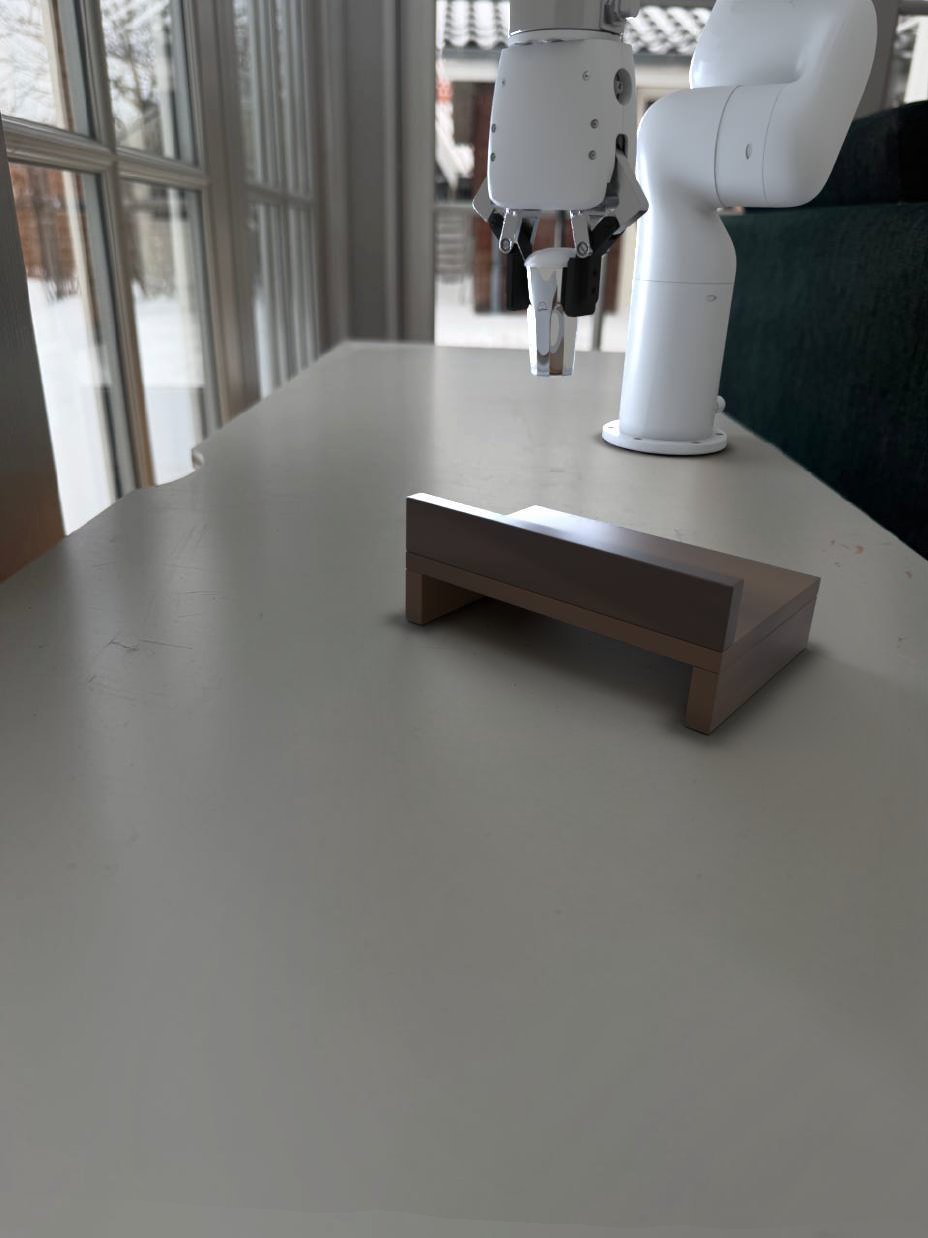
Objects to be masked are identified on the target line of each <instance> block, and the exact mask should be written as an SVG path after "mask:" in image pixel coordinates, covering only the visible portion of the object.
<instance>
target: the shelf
mask: <svg viewBox="0 0 928 1238" xmlns="http://www.w3.org/2000/svg"><path fill="white" fill-rule="evenodd" d="M405 550H406V551H405V609H404V611H405V612H404V613H405V615H404V616H405V617H404V618H405V620H406V621H409V622H411V623H414V624H417V625H419V626H422V625H425V624H427V623H430V622H431V621H433V620H436V619H438V618H440V617H443V616H445V615H447V614H449V613H451V612H454V611H455V610H458V609H460V608H462V607H466V606H467V605H470V604H472V603H474V602H476V601H477V600H481V599H483V598H485V597H489V598H493V599H495V600H498V601H501V602H504V603H507V604H511V605H513V606H516V607H518V608H522V609H525V610H528V611H530V612H533V613H537V614H540V615H542V616H545V617H549V618H551V619H554V620H557V621H561V622H563V623H565V624H570V625H573V626H575V627H578V628H580V629H584V630H587V631H589V632H593V633H595V634H598V635H602V636H605V637H608V638H610V639H613V640H617V641H619V642H623V643H625V644H628V645H632V646H635V647H637V648H640V649H643V650H646V651H649V652H653V653H655V654H658V655H661V656H664V657H667V658H670V659H673V660H676V661H679V662H681V663H684V664H688V665H690V666H693V667H692V673H691V679H690V685H689V692H688V699H687V705H686V710H685V711H686V712H685V717H684V726H685V727H686V728H689V729H692V730H695V731H697V732H699V733H702V734H705V735H710V734H711V733H713V732H714V731H715V730H716V729H717V728H718V727H719V726H720V725H721V724H722V723H723V722H724V721H725V720H726V719H728V718H729V717H730V716H732V714H734V713H735V712H736V711H737V710H738V709H739V708H740V707H742V705H744V703H746V702H747V701H748V700H749V699H750V698H751V697H752V696H754V695H755V693H757V692H758V691H759V690H761V688H762V687H764V686H765V684H767V683H768V682H769V681H770V680H771V679H773V677H775V675H777V674H778V673H779V672H780V671H781V670H783V669H784V668H785V667H786V666H787V665H788V664H789V663H790V662H791V661H792V660H793V659H795V658H796V657H797V656H798V655H799V654H800V653H801V652H802V651H804V650H805V648H807V646H808V642H809V638H810V632H811V628H812V623H813V618H814V614H815V608H816V604H817V599H818V595H819V590H820V586H821V585H820V584H821V582H822V581H821V580H822V577H820V576H816V575H812V574H809V573H805V572H802V571H797V570H794V569H789V568H785V567H781V566H778V565H773V564H769V563H766V562H761V561H757V560H753V559H750V558H747V557H746V558H745V557H742V556H737V555H733V554H731V553H726V552H722V551H718V550H714V549H710V548H706V547H702V546H699V545H695V544H689V543H687V542H684V541H683V542H682V541H678V540H674V539H671V538H667V537H664V536H659V535H655V534H651V533H647V532H644V531H640V530H636V529H631V528H627V527H624V526H619V525H616V524H611V523H608V522H604V521H600V520H596V519H592V518H588V517H584V516H580V515H575V514H572V513H568V512H564V511H561V510H556V509H552V508H549V507H545V506H540V505H537V504H534V505H532V506H529V507H526V508H522V509H520V510H518V511H515V512H512V513H509V514H507V515H505V514H502V513H498V512H494V511H491V510H487V509H483V508H480V507H477V506H472V505H468V504H464V503H460V502H457V501H453V500H450V499H446V498H442V497H439V496H434V495H431V494H427V493H423V492H418V493H415V494H412V495H409V496H406V497H405Z"/></svg>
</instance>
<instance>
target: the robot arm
mask: <svg viewBox="0 0 928 1238" xmlns="http://www.w3.org/2000/svg"><path fill="white" fill-rule="evenodd" d="M640 9H641V0H509V5H508V35H507V37H508V41H507V43H508V44H507V47H506V48H502V49H501V53H500V57H499V63H498V67H497V72H496V78H495V82H494V91H493V97H492V103H491V104H492V106H491V112H490V121H489V134H488V136H489V138H488V149H487V150H488V151H487V173H486V176H485V178H483V181H482V183H481V185H480V187H479V188H478V190H477V192H476V194H475V196H474V197H473V199H472V208H473V209H474V210H475V211H476V213H477V214H478V215H479V216H480V217H481V218H482V219H483V220H484V221H485V222H486V223H488V227H489V229H490V230H491V232H492V233H493V234H494V236H495V238H496V239H497V241H498V242H499V243H498V245H499V250H500V251H501V253H503V254H505V255H506V261H505V288H504V289H505V291H504V292H505V298H506V299H505V308H506V310H507V311H510V312H519V311H524V310H525V311H526V310H528V308H527V295H526V283H525V270H524V261H523V259H522V256H521V254H520V251H519V248H518V246H517V243H516V241H515V238H514V236H513V235H515V237H516V239H517V242H518V245H519V247H520V250H521V252H522V255H523V257H524V260H526V258H527V257H528V256H529V255H531V254H532V253H533V248H534V244H535V240H536V236H537V232H538V227H539V223H540V219H541V215H542V210H545V211H549V210H550V211H569V214H570V221H571V228H572V237H573V244H574V249H575V251H576V256H575V257H571V258H569V260H568V263H567V280H566V297H565V314H566V315H567V316H568V317H579V318H580V317H586V316H587V317H588V316H592V315H594V314H595V312H596V307H597V303H598V301H599V298H600V288H601V276H602V275H601V272H602V260H603V257H606V256H608V255H609V253H610V250H611V247H612V246H613V245H614V244H615V243H616V242H617V240H619V238H620V237H621V236H622V235H623V234H624V233H625V232H626V229H628V228H629V227H631V226H632V225H634V224H635V223H636V222H637V229H636V230H637V231H636V243H635V245H636V246H635V257H634V266H633V267H634V268H633V279H632V284H631V285H632V286H631V295H630V305H629V316H628V325H627V335H626V336H627V337H626V343H625V344H626V346H625V353H624V354H625V355H624V365H623V373H622V385H621V394H620V405H619V415H618V419H617V420H613V421H610V422H607V423H605V424H604V425H603V426H602V432H601V433H602V435H601V436H602V439H603V440H604V441H605V442H607V443H609V444H611V445H613V446H616V447H620V448H622V449H627V450H632V451H635V452H636V451H637V452H642V453H650V454H659V455H676V456H682V455H683V456H688V455H689V456H691V455H692V456H693V455H705V454H706V455H708V454H712V453H716V452H720V451H722V450H724V449H725V448H726V447H727V444H728V435H727V434H726V432H725V431H723V430H721V429H719V428H716V427H715V426H714V424H715V416H716V415H717V414H720V413H722V412H723V411H724V410H725V408H726V401H725V399H724V398H723V397H722V396H721V395H719V389H720V382H721V375H722V370H723V369H722V368H723V362H724V355H725V349H726V348H725V347H726V341H727V335H728V334H727V333H728V327H729V321H730V315H731V306H732V300H733V292H734V287H735V282H736V281H735V280H736V272H737V253H736V248H735V245H734V243H733V241H732V238H731V236H730V234H729V232H728V230H727V228H726V226H725V224H724V223H723V221H722V219H721V217H720V215H719V212H718V209H724V208H725V209H726V208H732V207H733V208H734V207H737V208H743V207H744V208H793V207H799V206H803V205H805V204H807V203H810V202H811V201H813V199H815V198H816V197H817V196H818V195H819V194H820V193H821V191H822V190H823V188H824V187H825V185H826V183H827V181H828V179H830V178H829V177H830V175H831V173H832V171H833V169H834V166H835V164H836V162H837V159H838V156H839V154H840V151H841V150H842V147H843V144H844V142H845V139H846V136H847V135H848V132H849V129H850V128H851V124H852V123H853V120H854V117H855V115H856V112H857V110H858V107H859V105H860V103H861V100H862V97H863V95H864V92H865V89H866V87H867V84H868V80H869V78H870V75H871V72H872V67H873V64H874V60H875V56H876V48H877V42H878V17H877V12H876V8H875V5H874V3H873V0H716V1H715V2H714V6H713V7H712V10H711V12H710V13H709V16H708V17H707V20H706V23H705V25H704V27H703V29H702V31H701V33H700V36H699V39H698V41H697V43H696V47H695V48H694V52H693V55H692V57H691V63H690V68H689V84H690V88H684V89H680V90H676V91H673V92H670V93H667V94H666V95H664V96H661V97H660V98H659V99H657V100H656V101H655V102H653V103H652V104H651V105H650V106H649V107H648V109H647V110H646V111H645V113H644V114H643V116H642V117H641V120H640V122H639V126H638V93H637V79H636V67H635V59H634V51H633V45H632V44H631V43H626V42H622V35H624V32H625V31H624V30H625V22H627V21H628V19H635V18H637V17H638V16H639V14H640ZM505 209H506V210H505ZM607 211H611V212H610V214H608V215H607Z"/></svg>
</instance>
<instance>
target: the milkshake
mask: <svg viewBox="0 0 928 1238" xmlns="http://www.w3.org/2000/svg"><path fill="white" fill-rule="evenodd" d="M513 236H514V238H515V241H516V243H517V246H518V248H519V251H520V254H521V256H522V259H523V261H524V270H525V283H526V295H527V308H528V309H527V323H528V326H527V327H528V340H529V343H528V344H529V361H530V375H531V376H534V377H538V378H548V379H549V378H552V379H553V378H565V377H570V376H572V375H573V374H574V370H575V361H576V360H575V359H576V349H577V341H578V330H579V322H580V317H568V316H567V315H566V314H565V297H566V280H567V263H568V260H569V258H571V257H575V256H576V251H575V248H573V247H563V246H562V247H547V248H543V249H540V250H535V251H532V254H531V255H529V256H528V257H527V258H526V260H524V257H523V255H522V252H521V250H520V247H519V245H518V242H517V239H516V237H515V235H513Z"/></svg>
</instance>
